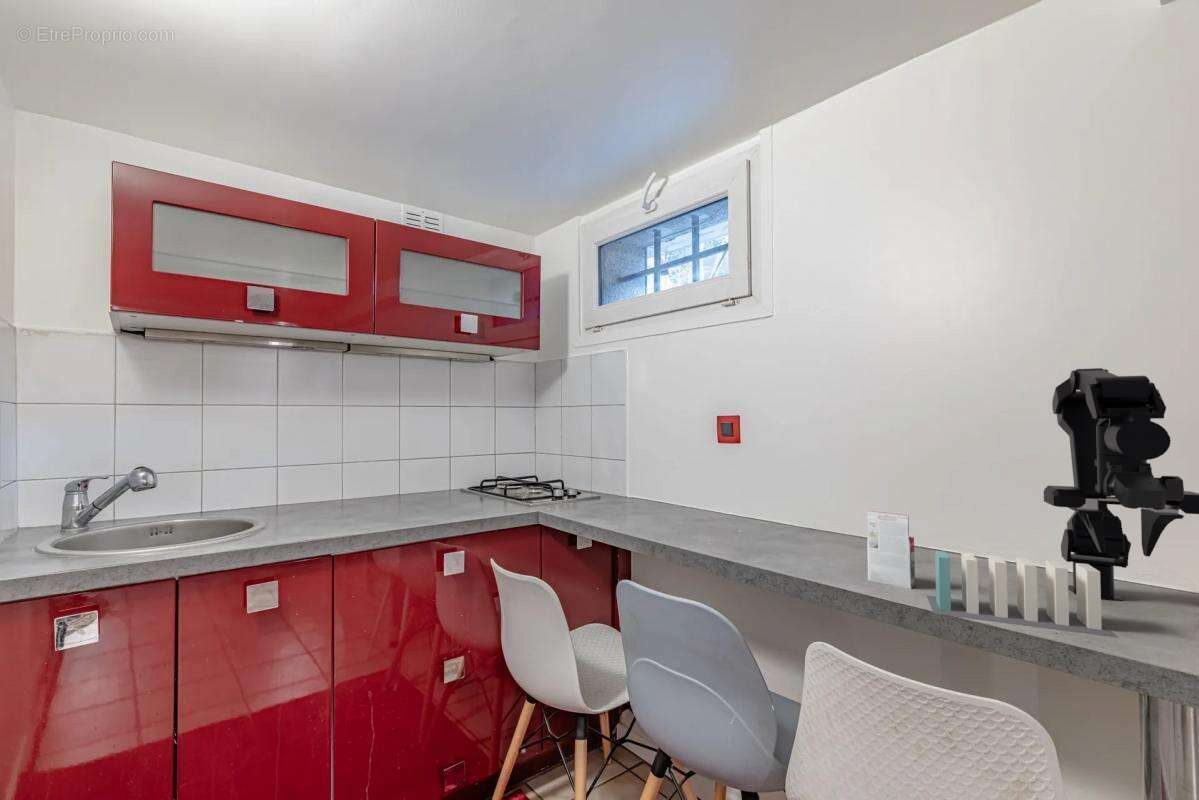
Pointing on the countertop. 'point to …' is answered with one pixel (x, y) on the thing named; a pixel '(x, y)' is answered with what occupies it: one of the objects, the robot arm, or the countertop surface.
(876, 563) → the ink box
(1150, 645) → the countertop surface
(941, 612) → the runner mat
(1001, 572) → the domino
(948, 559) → the domino
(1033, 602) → the domino
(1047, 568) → the domino
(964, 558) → the domino
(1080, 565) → the domino
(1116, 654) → the countertop surface
